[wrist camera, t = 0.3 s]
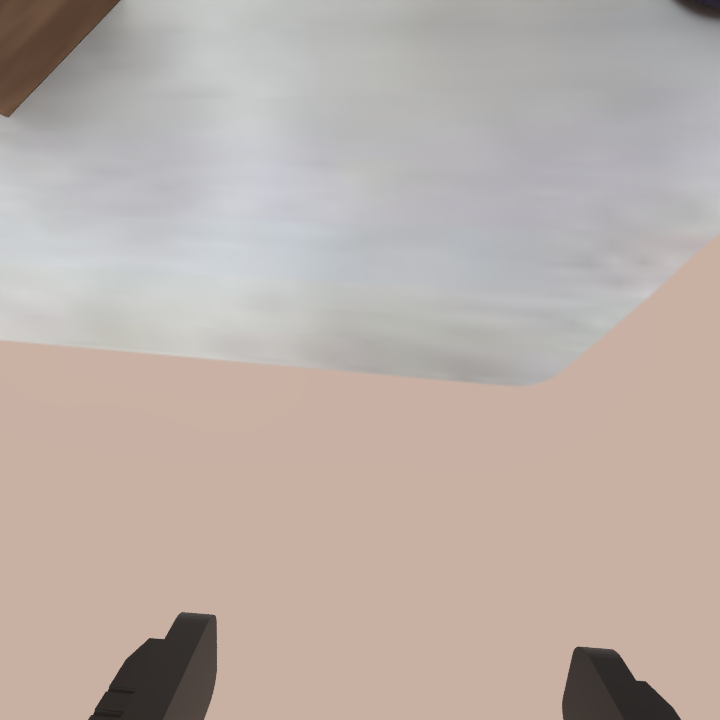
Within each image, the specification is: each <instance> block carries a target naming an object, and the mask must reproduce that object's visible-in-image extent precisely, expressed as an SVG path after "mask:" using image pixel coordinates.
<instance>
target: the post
mask: <svg viewBox="0 0 720 720" xmlns="http://www.w3.org/2000/svg"><path fill="white" fill-rule="evenodd" d="M119 1H120V0H0V114H2V115H4V116H6V117H9V116H10V114H11V113H12V112H13V111H14V110H15V109H16V108H17V107H18V106H19V105H20V104H21V103H22V102H23V101H24V100H25V99H26V98H27V97H28V96H29V95H30V94H31V93H32V92H33V90H34V89H35V88H36V87H37V86H38V85H39V84H40V83H41V82H42V81H43V80H44V79H45V78H46V77H47V76H48V75H49V74H50V73H51V72H52V71H53V70H54V69H55V67H56V66H57V65H58V64H59V63H60V62H61V61H62V60H63V59H64V58H65V57H66V56H67V55H68V54H69V53H70V52H71V51H72V50H73V49H74V48H75V47H76V46H77V44H78V43H79V42H80V41H81V40H82V39H83V38H84V37H85V36H86V35H87V34H88V33H89V32H90V31H91V30H92V29H93V28H94V27H95V26H96V25H97V24H98V23H99V22H100V20H101V19H102V18H103V17H104V16H105V15H106V14H107V13H108V12H109V11H110V10H111V9H112V8H113V7H114V6H115V5H116V4H117V3H118V2H119Z"/></svg>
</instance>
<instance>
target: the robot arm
mask: <svg viewBox="0 0 720 720" xmlns="http://www.w3.org/2000/svg"><path fill="white" fill-rule="evenodd" d="M216 624H217V622H216V616H215V615H209V614H197V613H185V612H182V613H180V614H179V615H178V616H177V618H176V619H175V621H174V623H173V625H172V627H171V628H170V630H169V632H168V634H167V636H166V637H165V639H153V638H149V639H148V640H147V641H146V642H145V643H144V644H143V645H141V646H140V647H139V648H138V649H137V650H136V651H135V652H134V653H133V654H132V655H131V656H129V657H128V658H127V659H126V660H125V662H124V664H123V665H122V667H121V668H120V670H119V672H118V673H117V675H116V677H115V678H114V680H113V681H112V683H111V684H110V686H109V690H108V692H105V694H104V696H103V697H102V699H101V700H100V702H99V703H98V705H97V707H96V708H95V712H94V714H93V715H91V717H90V718H89V719H88V720H204V718H205V715H206V712H207V710H208V707H209V704H210V701H211V698H212V694H213V690H214V686H215V680H216V673H217V627H216V626H217V625H216ZM562 710H563V719H564V720H681V719H680V717H679V716H678V715H677V713H676V712H675V710H674V709H673V707H672V706H671V705H670V704H669V703H667V702H666V701H665V700H664V699H663V698H662V697H661V696H660V695H659V694H658V693H657V692H656V691H655V690H654V689H653V688H651V686H650V685H649V684H648V683H647V682H646V681H636V680H635V678H634V677H633V675H632V673H631V672H630V670H629V669H628V667H627V666H626V664H625V662H624V661H623V659H622V658H621V657H620V655H619V654H618V653H617V652H616V651H614V650H612V649H601V648H589V647H576V648H575V649H574V652H573V655H572V660H571V664H570V669H569V673H568V678H567V682H566V687H565V691H564V695H563V702H562Z"/></svg>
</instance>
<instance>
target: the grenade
mask: <svg viewBox="0 0 720 720" xmlns="http://www.w3.org/2000/svg"><path fill="white" fill-rule="evenodd" d="M698 1H699V2H701V3H702V4H705V5H708V6H711V7H714V8H718V9H720V0H698Z"/></svg>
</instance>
